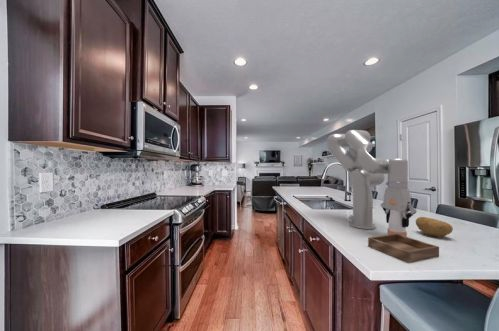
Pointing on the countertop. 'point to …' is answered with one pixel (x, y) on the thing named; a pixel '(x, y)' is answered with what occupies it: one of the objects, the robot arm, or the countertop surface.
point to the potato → (433, 226)
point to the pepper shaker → (396, 221)
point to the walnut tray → (403, 247)
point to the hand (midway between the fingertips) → (397, 224)
